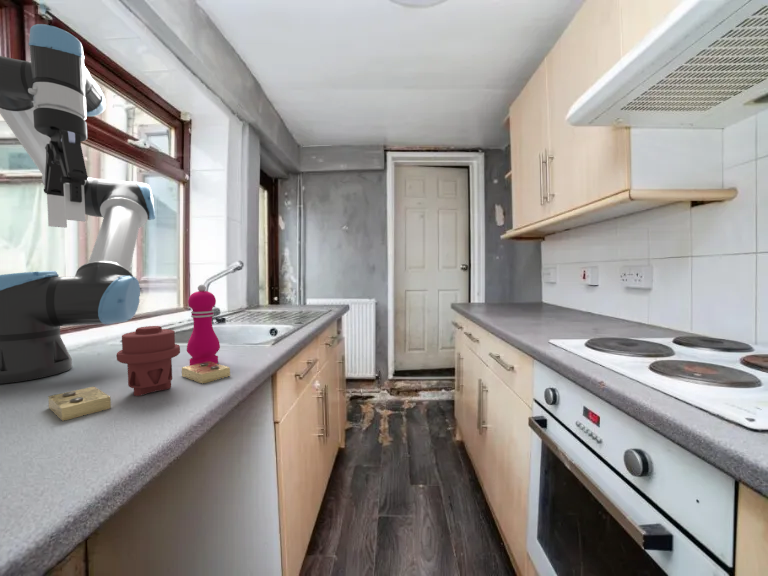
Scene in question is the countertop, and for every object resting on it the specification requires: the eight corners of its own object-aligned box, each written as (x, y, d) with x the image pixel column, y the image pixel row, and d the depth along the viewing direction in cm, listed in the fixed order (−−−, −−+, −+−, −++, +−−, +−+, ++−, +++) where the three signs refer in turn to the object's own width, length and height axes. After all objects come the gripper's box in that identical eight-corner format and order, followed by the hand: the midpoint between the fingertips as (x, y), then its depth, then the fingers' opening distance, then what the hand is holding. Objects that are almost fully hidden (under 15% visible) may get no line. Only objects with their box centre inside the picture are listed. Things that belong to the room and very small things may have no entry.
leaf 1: (48, 407, 56) (48, 394, 56) (94, 397, 61) (93, 384, 61) (62, 421, 51) (61, 406, 51) (110, 408, 56) (110, 394, 56)
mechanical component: (193, 383, 69) (149, 401, 59) (152, 380, 71) (104, 397, 61) (191, 324, 68) (147, 332, 58) (150, 323, 70) (101, 331, 60)
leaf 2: (182, 376, 73) (181, 366, 73) (209, 369, 78) (209, 360, 78) (202, 383, 68) (201, 372, 68) (230, 376, 73) (229, 366, 73)
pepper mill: (215, 359, 88) (213, 284, 87) (224, 364, 82) (221, 284, 82) (184, 364, 83) (181, 284, 82) (191, 370, 78) (188, 285, 77)
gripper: (21, 125, 69) (26, 227, 70) (48, 84, 55) (54, 214, 56) (69, 136, 75) (74, 230, 76) (105, 103, 61) (110, 219, 62)
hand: (66, 224), depth 66 cm, fingers open, 13 cm apart
